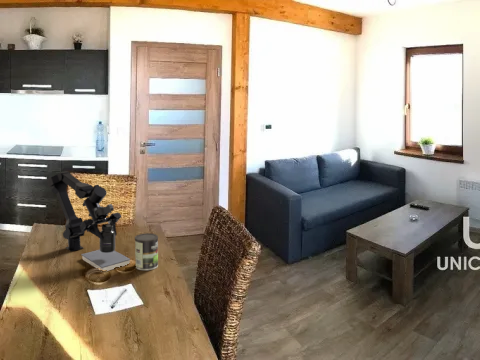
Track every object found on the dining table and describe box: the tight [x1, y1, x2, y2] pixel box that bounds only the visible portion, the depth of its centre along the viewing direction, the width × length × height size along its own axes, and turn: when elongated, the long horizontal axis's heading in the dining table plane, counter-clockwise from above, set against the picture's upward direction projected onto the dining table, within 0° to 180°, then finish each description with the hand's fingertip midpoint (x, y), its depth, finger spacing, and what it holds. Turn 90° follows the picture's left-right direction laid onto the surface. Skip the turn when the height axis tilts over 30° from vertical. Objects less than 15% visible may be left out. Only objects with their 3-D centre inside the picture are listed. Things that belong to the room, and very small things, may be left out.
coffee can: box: [134, 233, 159, 271], centre depth 191 cm, size 10×10×14 cm
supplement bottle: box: [99, 223, 116, 253], centre depth 190 cm, size 7×7×12 cm
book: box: [80, 249, 131, 272], centre depth 195 cm, size 20×14×3 cm
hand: (109, 237), depth 190 cm, fingers closed on supplement bottle, 7 cm apart
